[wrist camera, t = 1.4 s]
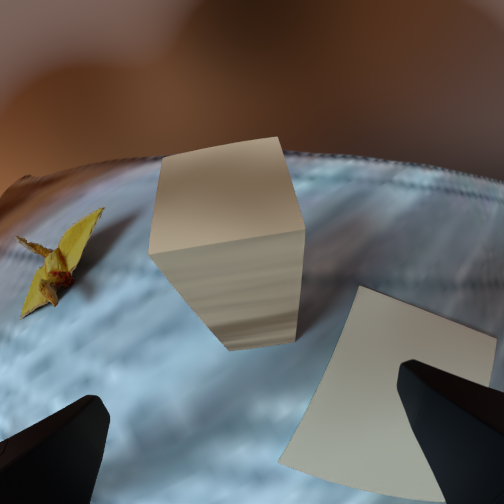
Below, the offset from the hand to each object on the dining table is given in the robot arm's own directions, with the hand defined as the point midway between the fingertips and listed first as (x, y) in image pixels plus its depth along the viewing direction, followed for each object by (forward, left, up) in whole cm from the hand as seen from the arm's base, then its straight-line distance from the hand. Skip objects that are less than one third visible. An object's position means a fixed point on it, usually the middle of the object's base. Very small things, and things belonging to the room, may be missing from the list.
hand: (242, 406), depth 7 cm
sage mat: (+4, -10, -13) cm, 17 cm away
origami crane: (0, +25, -13) cm, 28 cm away
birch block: (+6, +4, -13) cm, 15 cm away
